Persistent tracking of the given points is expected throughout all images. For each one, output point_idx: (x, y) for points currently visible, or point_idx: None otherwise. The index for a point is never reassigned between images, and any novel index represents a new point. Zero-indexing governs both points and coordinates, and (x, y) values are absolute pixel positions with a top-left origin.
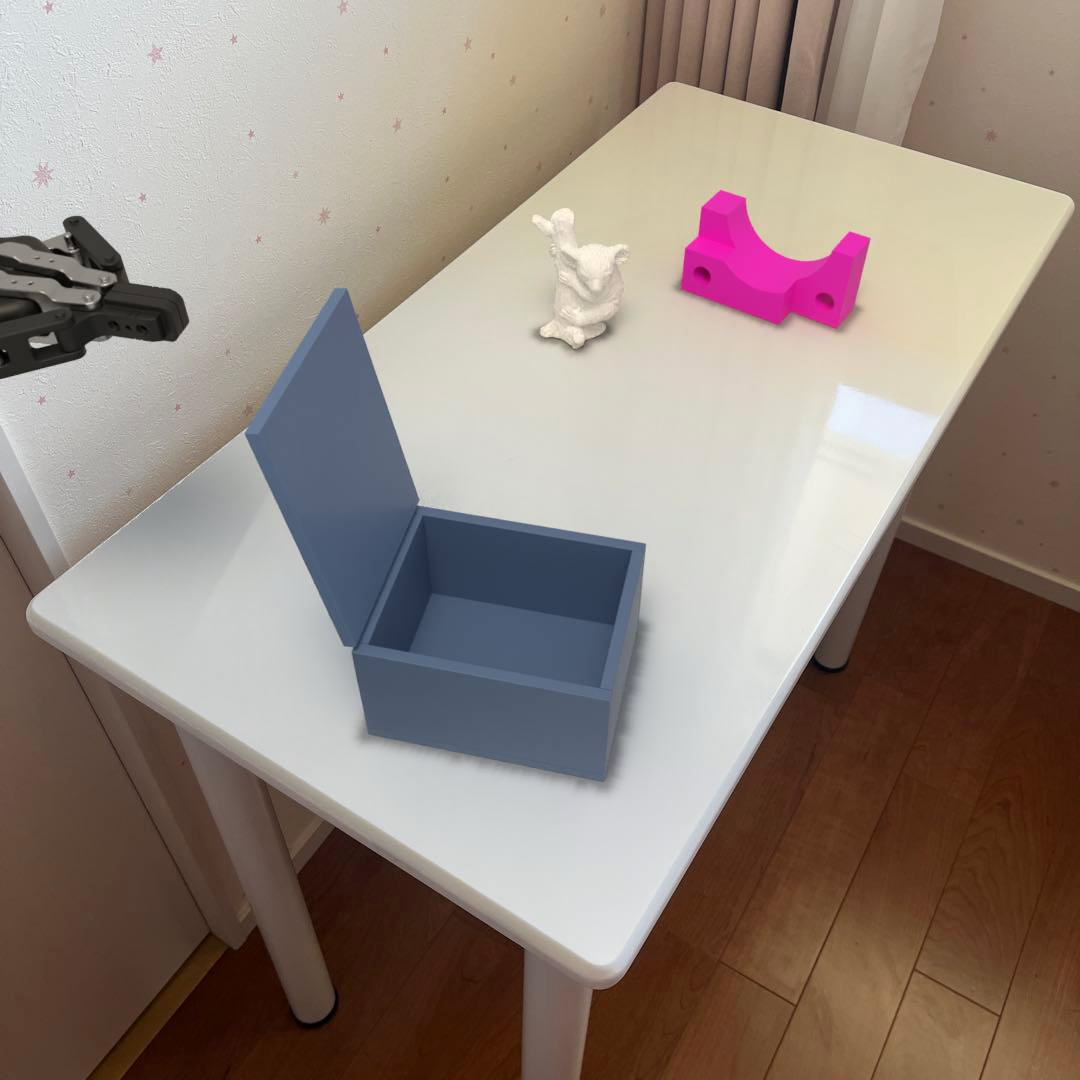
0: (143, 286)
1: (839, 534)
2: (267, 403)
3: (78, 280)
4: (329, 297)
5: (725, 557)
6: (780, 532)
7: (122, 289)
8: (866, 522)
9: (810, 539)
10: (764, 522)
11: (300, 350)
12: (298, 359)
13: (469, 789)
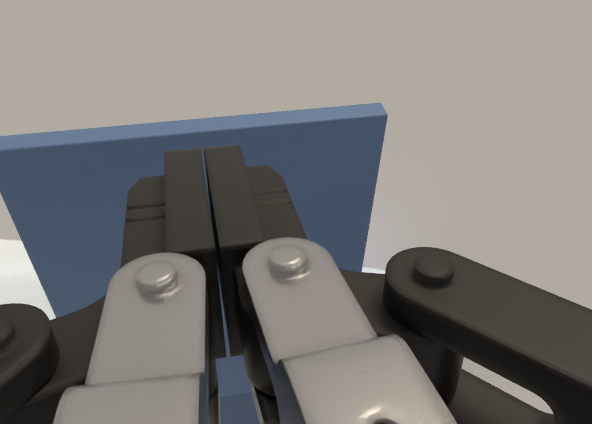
0: (134, 233)
1: (16, 252)
2: (320, 114)
3: (201, 344)
4: (16, 147)
5: (48, 300)
6: (15, 279)
7: (194, 229)
8: (2, 243)
9: (23, 263)
10: (3, 289)
11: (183, 128)
12: (207, 122)
13: None
